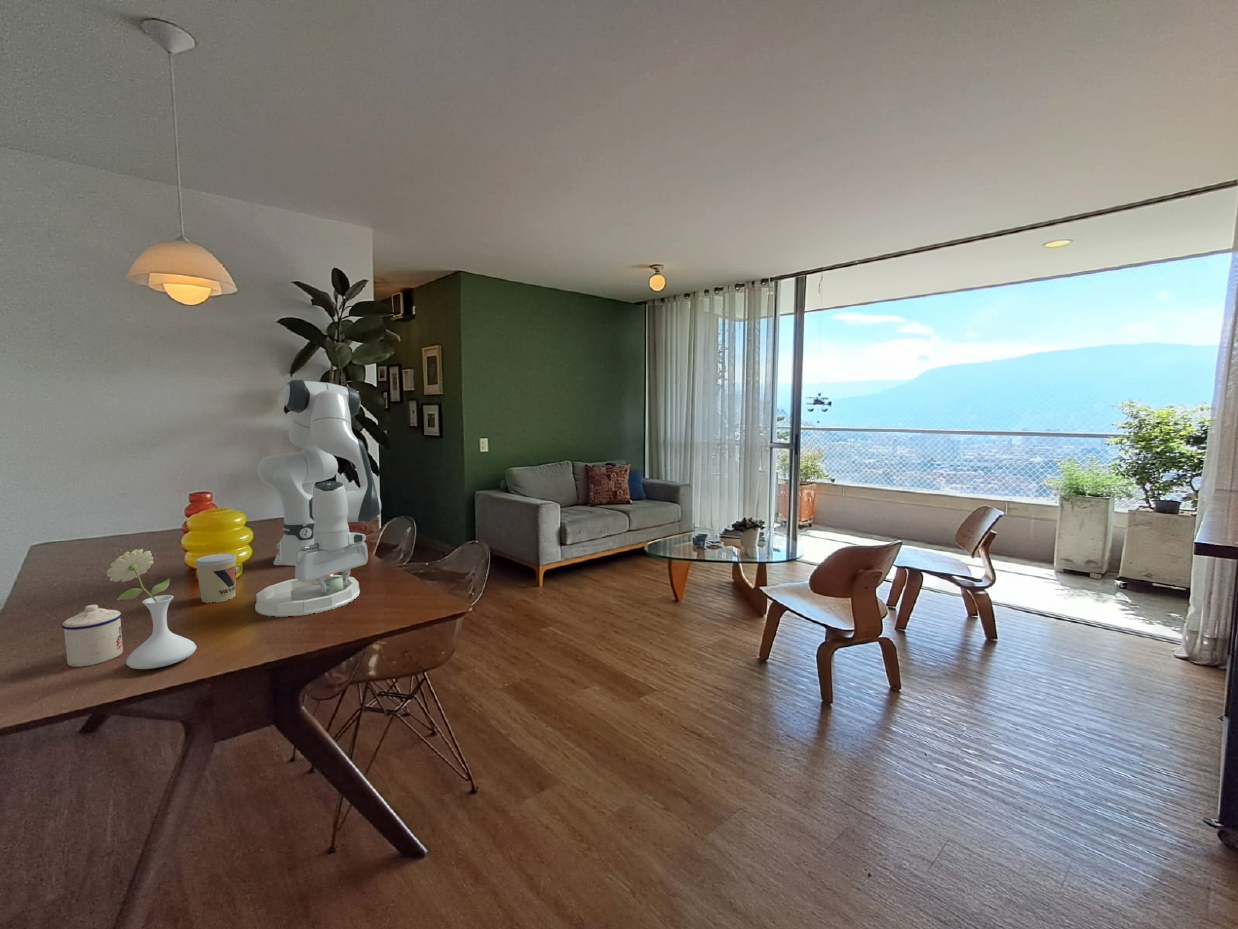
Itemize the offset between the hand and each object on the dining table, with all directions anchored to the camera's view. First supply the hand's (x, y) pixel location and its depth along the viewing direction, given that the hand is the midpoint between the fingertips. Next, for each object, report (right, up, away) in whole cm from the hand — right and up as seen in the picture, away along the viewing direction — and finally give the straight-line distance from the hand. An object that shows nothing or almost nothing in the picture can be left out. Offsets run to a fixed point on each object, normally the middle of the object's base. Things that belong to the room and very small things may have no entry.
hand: (334, 588), depth 150 cm
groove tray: (-7, -4, +1) cm, 8 cm away
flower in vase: (-17, -7, -38) cm, 42 cm away
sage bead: (0, -2, 0) cm, 2 cm away
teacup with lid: (-34, -7, -34) cm, 49 cm away
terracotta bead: (-7, -2, +8) cm, 11 cm away
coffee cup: (-34, -4, +2) cm, 35 cm away
